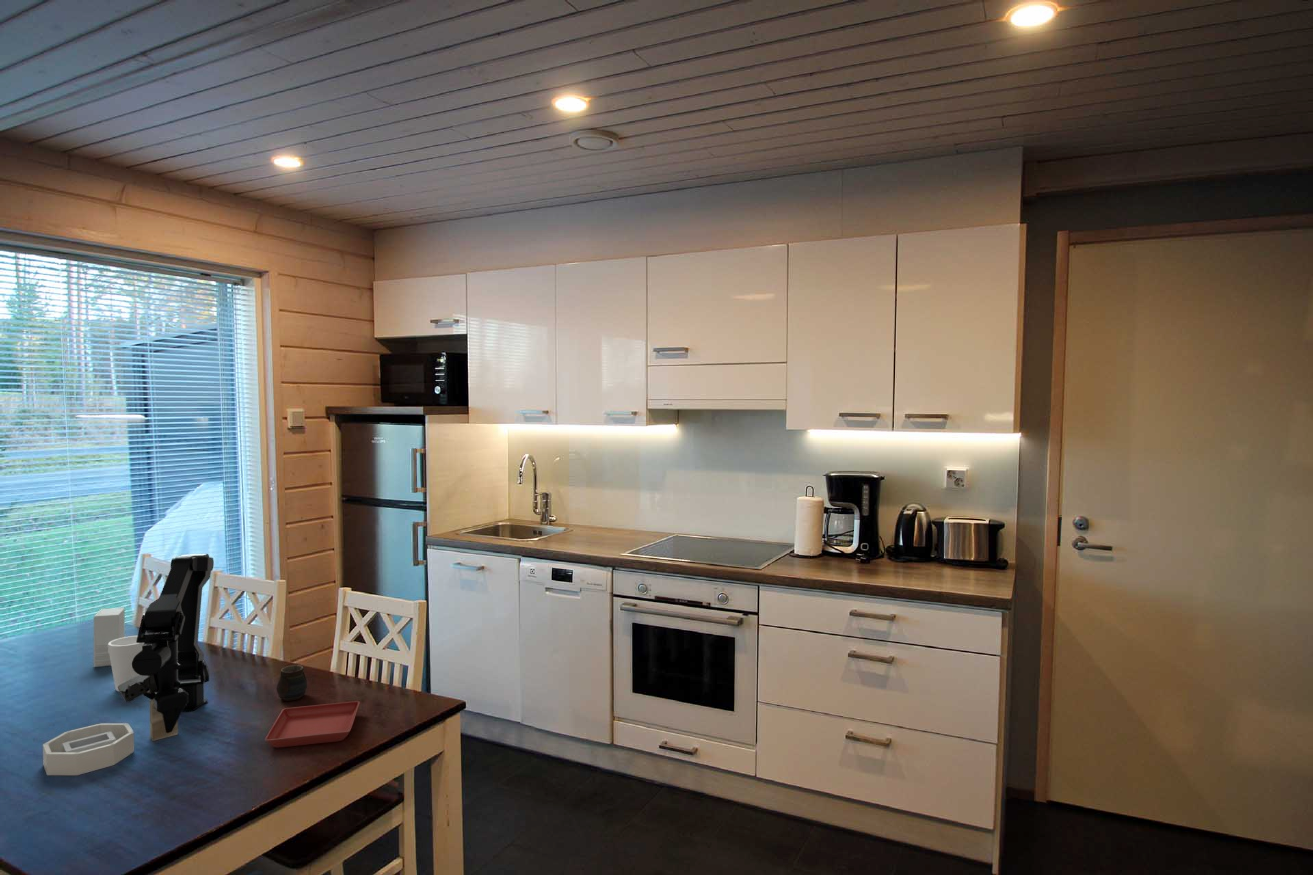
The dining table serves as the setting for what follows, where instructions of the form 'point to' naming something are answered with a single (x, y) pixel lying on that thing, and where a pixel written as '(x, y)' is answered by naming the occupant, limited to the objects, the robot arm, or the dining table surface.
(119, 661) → the foam cup
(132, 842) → the dining table surface
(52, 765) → the octagonal boat dish
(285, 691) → the mate gourd
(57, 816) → the dining table surface
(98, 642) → the skincare box
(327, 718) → the plant saucer
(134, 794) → the dining table surface
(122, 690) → the robot arm
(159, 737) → the wood grain block
